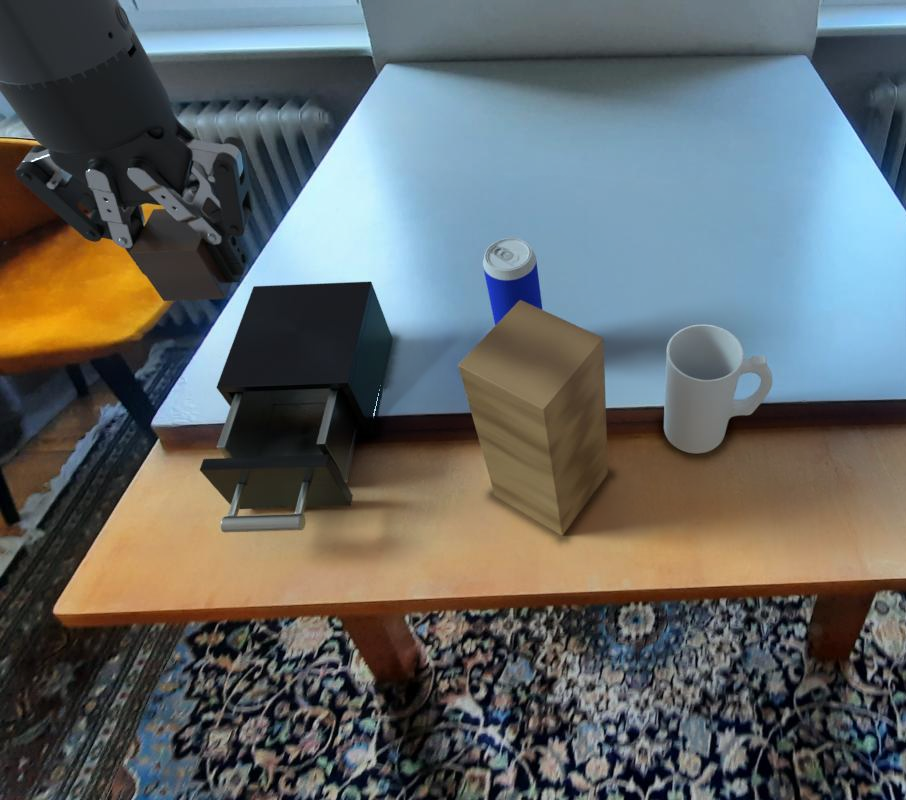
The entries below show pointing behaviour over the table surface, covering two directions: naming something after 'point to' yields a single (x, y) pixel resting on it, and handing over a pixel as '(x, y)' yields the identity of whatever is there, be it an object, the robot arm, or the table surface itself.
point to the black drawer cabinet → (312, 345)
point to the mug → (707, 386)
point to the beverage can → (511, 276)
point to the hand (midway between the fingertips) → (202, 274)
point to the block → (177, 260)
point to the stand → (540, 413)
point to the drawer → (283, 456)
